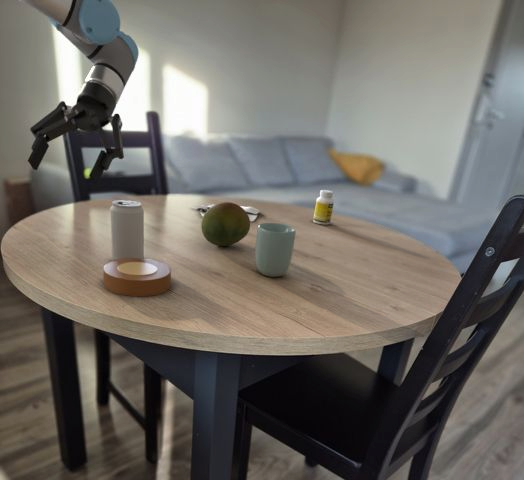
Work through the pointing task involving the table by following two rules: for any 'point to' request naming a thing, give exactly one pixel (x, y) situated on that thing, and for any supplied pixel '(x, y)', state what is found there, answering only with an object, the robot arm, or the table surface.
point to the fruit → (225, 224)
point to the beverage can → (127, 230)
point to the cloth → (249, 210)
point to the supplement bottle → (324, 208)
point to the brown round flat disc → (137, 277)
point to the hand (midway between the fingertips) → (62, 172)
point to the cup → (274, 248)
